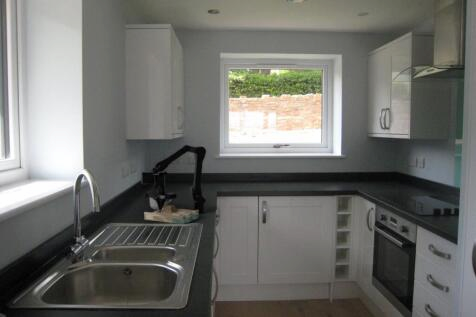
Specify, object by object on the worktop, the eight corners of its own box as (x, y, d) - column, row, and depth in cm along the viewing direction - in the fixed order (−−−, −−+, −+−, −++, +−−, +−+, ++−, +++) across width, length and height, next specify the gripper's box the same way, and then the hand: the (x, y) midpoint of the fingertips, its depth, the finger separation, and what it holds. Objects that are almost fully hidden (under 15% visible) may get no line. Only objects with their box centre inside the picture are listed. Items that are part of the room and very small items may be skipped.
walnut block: (169, 211, 216) (169, 204, 216) (175, 212, 214) (175, 205, 214) (165, 213, 212) (165, 206, 212) (171, 213, 211) (171, 206, 210)
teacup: (149, 211, 229) (149, 198, 228) (149, 207, 240) (148, 195, 239) (172, 209, 233) (172, 196, 232) (171, 206, 243) (171, 193, 243)
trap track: (160, 213, 222) (160, 206, 221) (198, 217, 211) (198, 209, 211) (144, 219, 208) (144, 211, 208) (184, 224, 197) (184, 215, 197)
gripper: (137, 184, 211) (138, 211, 213) (165, 186, 204) (165, 214, 205) (150, 181, 221) (150, 207, 223) (176, 183, 214) (177, 210, 215)
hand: (160, 209), depth 216 cm, fingers closed
